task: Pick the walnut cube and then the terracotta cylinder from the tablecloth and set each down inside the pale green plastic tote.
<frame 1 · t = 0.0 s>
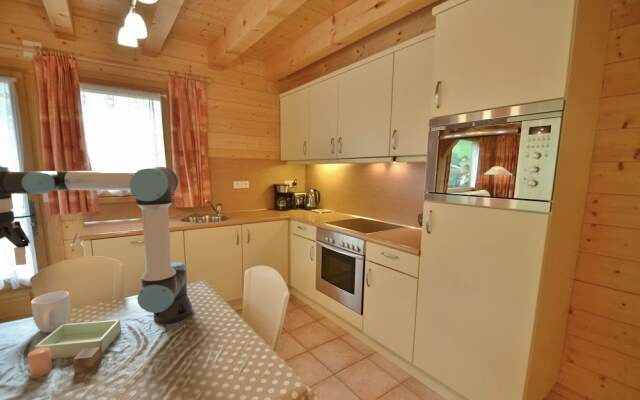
hand: (4, 271, 98), 28 cm above the table, fingers open, 13 cm apart
walnut cube: (88, 367, 92), on the table
mug: (53, 329, 112), on the table
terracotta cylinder: (41, 372, 89), on the table
tote: (81, 344, 102), on the table
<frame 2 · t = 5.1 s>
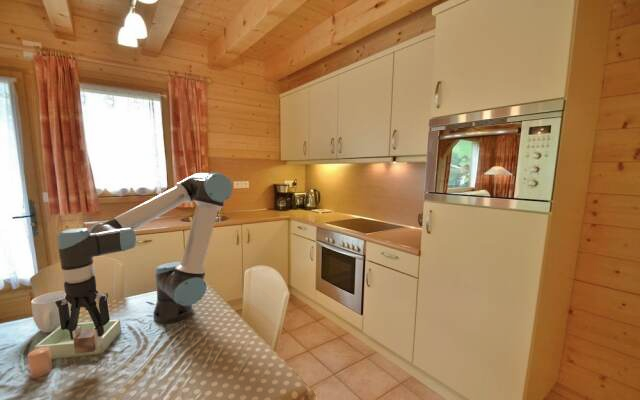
hand: (89, 346, 91), 7 cm above the table, fingers closed on walnut cube, 5 cm apart
walnut cube: (89, 347, 91), point 6 cm above the table, touching gripper
everything else where it was.
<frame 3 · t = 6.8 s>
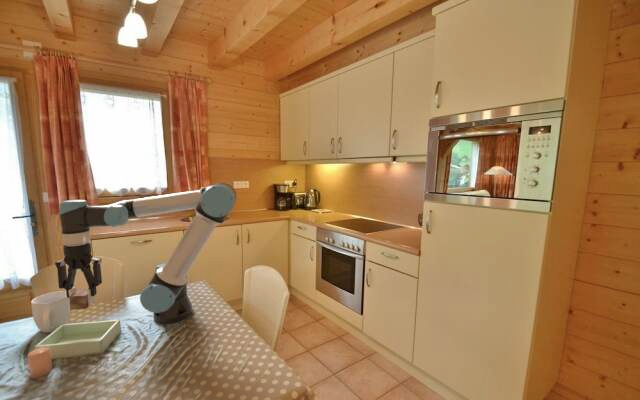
hand: (82, 304, 103), 14 cm above the table, fingers closed on walnut cube, 5 cm apart
walnut cube: (82, 306, 103), point 14 cm above the table, touching gripper
everything else where it was.
when the fingers open (1 cm above the table, at t = 8.9 s): walnut cube stays where it is, resting on tote.
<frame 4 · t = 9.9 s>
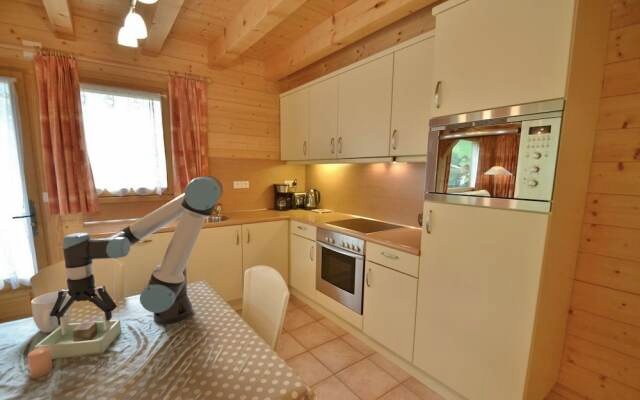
hand: (86, 330, 105), 4 cm above the table, fingers open, 13 cm apart
walnut cube: (85, 338, 105), point 1 cm above the table, touching tote
everything else where it was.
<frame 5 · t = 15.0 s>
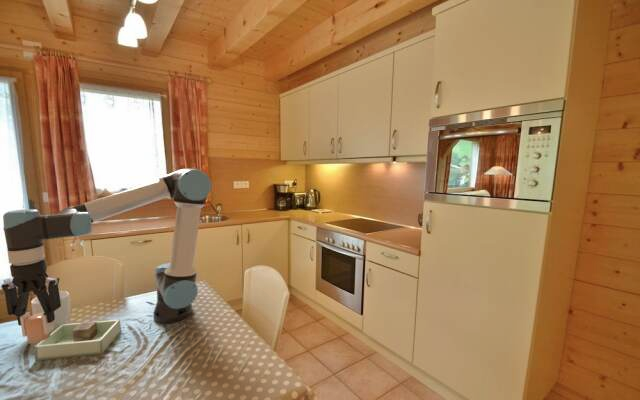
hand: (38, 332, 88), 13 cm above the table, fingers closed on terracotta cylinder, 5 cm apart
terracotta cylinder: (39, 338, 88), point 11 cm above the table, touching gripper
everything else where it was.
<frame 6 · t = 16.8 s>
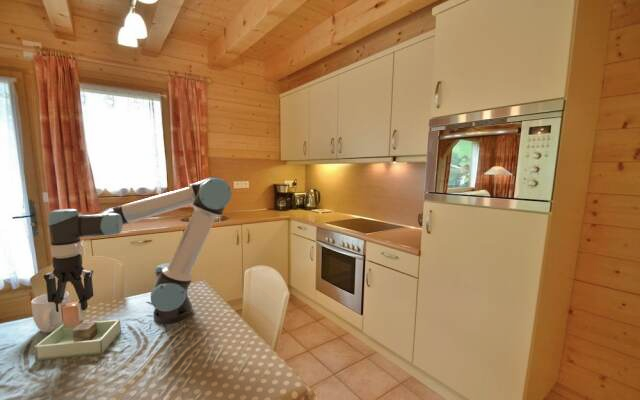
hand: (73, 319, 98), 12 cm above the table, fingers closed on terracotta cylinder, 5 cm apart
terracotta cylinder: (73, 323, 98), point 10 cm above the table, touching gripper
everything else where it was.
when the fingers open (2 cm above the table, at t = 18.8 s): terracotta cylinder stays where it is, resting on tote.
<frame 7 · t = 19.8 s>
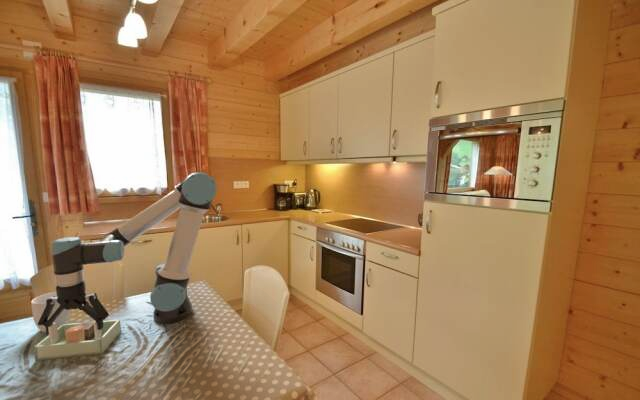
hand: (76, 339, 99), 4 cm above the table, fingers open, 13 cm apart
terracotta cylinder: (76, 347, 100), point 1 cm above the table, touching tote
everything else where it was.
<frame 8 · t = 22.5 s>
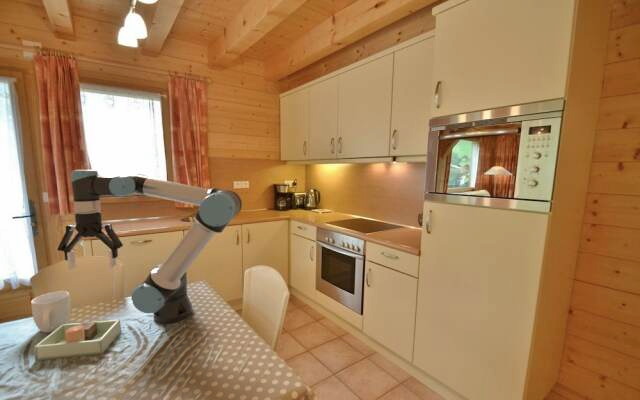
hand: (93, 267, 106), 27 cm above the table, fingers open, 13 cm apart
nothing on the table moved.
at the end: walnut cube inside the target area on the tote (2.6 cm from its centre), point 0.8 cm above the tote's base; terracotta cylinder inside the target area on the tote (2.8 cm from its centre), point 0.8 cm above the tote's base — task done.
